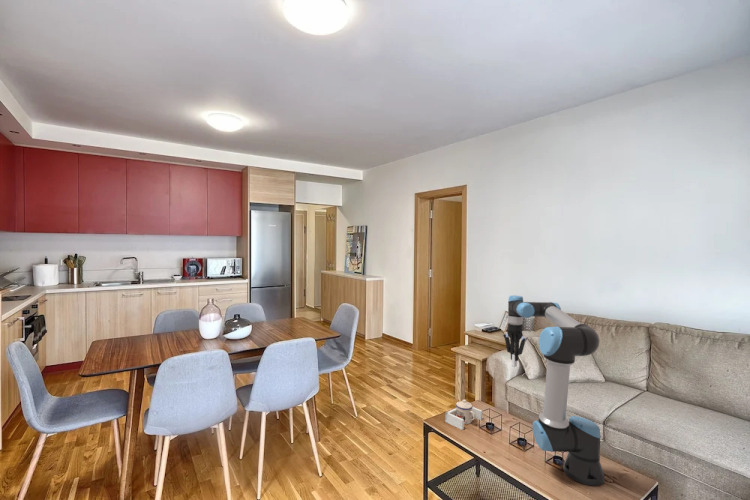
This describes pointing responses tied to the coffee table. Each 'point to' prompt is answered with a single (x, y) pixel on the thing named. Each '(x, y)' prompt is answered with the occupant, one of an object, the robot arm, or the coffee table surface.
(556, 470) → the coffee table surface
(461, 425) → the cradle
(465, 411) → the teacup with lid
